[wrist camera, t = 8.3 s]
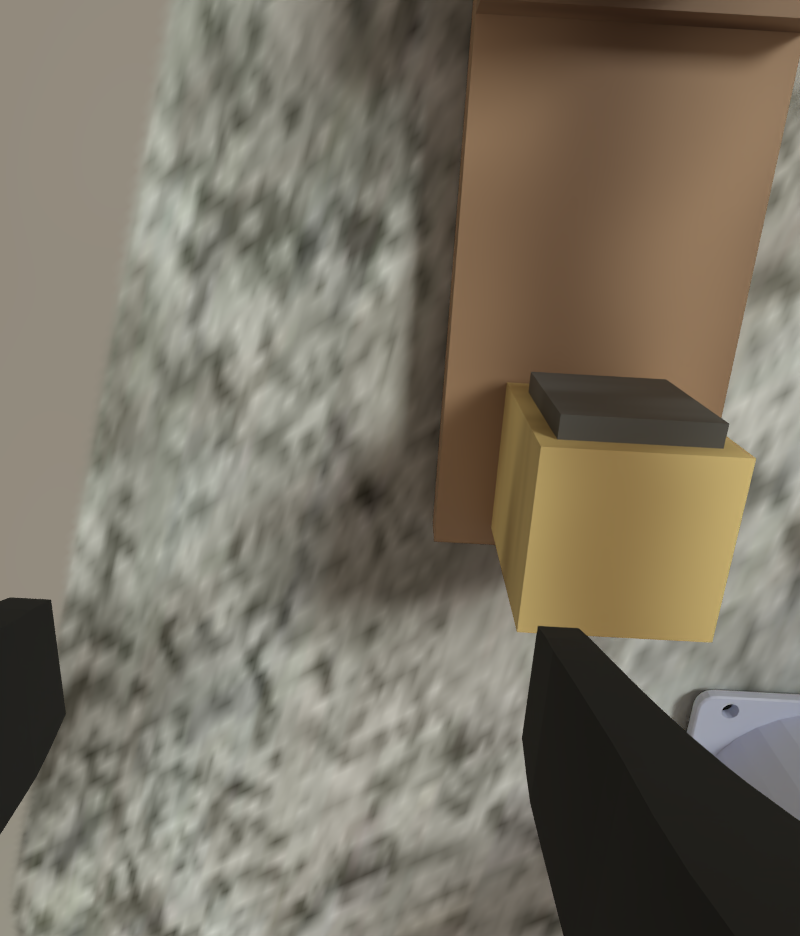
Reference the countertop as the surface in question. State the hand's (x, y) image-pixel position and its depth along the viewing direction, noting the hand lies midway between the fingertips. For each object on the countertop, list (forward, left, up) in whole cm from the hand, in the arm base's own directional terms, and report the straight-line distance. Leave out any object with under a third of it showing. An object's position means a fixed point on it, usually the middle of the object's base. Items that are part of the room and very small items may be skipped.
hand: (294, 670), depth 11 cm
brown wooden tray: (-6, -8, -10) cm, 14 cm away
